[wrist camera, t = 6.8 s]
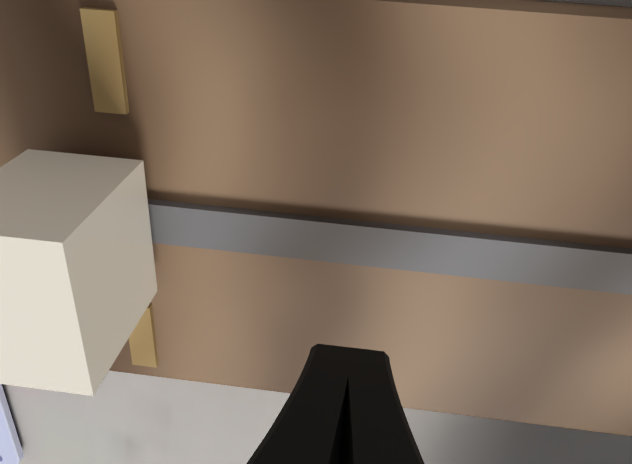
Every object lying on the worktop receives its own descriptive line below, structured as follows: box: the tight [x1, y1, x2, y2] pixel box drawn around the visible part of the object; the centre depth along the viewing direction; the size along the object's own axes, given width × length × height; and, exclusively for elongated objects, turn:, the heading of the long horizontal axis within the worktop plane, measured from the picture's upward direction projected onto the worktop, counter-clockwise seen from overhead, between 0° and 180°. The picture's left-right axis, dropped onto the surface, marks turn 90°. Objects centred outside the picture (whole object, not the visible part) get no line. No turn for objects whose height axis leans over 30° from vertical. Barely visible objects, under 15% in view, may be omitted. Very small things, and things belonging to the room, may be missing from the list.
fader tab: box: [0, 149, 157, 396], centre depth 13 cm, size 3×4×4 cm
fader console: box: [0, 0, 632, 436], centre depth 16 cm, size 22×12×2 cm, turn 87°
